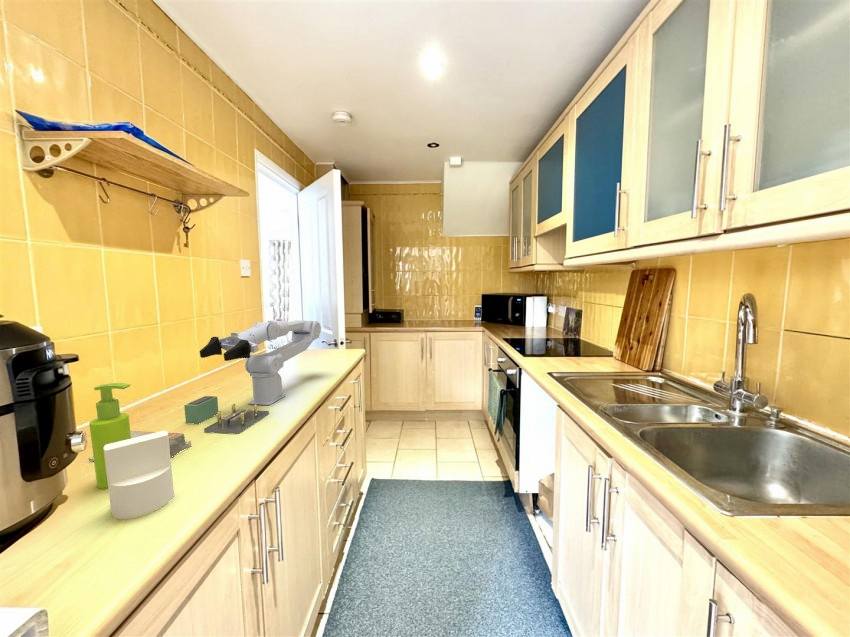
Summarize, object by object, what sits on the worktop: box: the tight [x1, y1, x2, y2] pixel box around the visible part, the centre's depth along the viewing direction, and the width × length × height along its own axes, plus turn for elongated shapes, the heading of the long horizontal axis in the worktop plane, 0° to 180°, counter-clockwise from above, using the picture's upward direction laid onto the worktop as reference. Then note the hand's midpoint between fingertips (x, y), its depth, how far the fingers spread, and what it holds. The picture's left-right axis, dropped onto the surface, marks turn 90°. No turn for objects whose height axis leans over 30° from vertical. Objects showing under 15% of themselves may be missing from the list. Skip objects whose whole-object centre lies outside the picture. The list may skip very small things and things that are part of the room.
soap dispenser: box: [88, 382, 131, 490], centre depth 72 cm, size 6×7×20 cm
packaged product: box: [88, 430, 192, 462], centre depth 84 cm, size 18×5×10 cm
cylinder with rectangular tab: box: [104, 430, 175, 520], centre depth 65 cm, size 9×9×12 cm
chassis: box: [203, 403, 270, 435], centre depth 101 cm, size 14×10×4 cm
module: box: [184, 395, 219, 425], centre depth 105 cm, size 8×4×6 cm, turn 172°
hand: (212, 355), depth 98 cm, fingers open, 7 cm apart
